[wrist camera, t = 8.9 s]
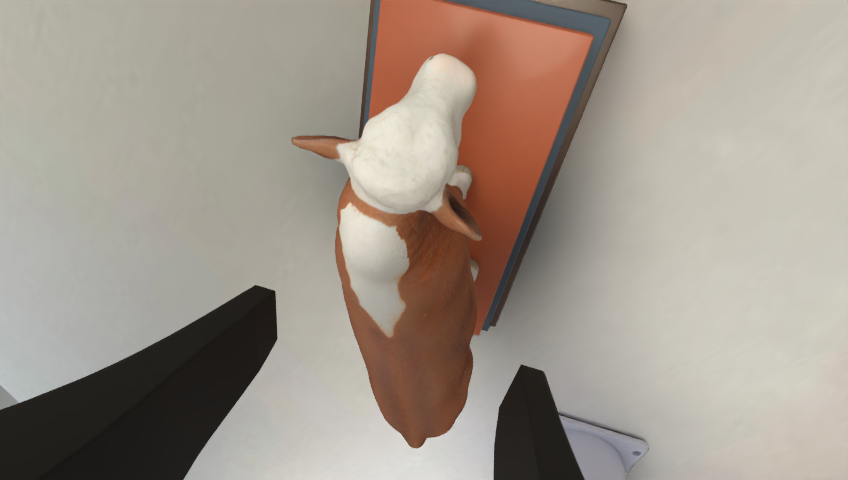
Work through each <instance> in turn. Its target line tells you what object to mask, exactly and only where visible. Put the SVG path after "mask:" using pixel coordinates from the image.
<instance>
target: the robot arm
mask: <svg viewBox="0 0 848 480" xmlns="http://www.w3.org/2000/svg"><path fill="white" fill-rule="evenodd" d="M276 340H277V318H276V296H275V291H274V290H270V289H267V288H264V287H260V286H257V285H255V286H253V287H252V288H250V289H248V290H246V291H245V292H243V293H241V294H240V295H238V296H236V297H235V298H233V299H231V300H230V301H228V302H226V303H225V304H223V305H221V306H220V307H218V308H216V309H215V310H213V311H211V312H210V313H208V314H206V315H205V316H203V317H201V318H199V319H198V320H196V321H194V322H192V323H191V324H189V325H187V326H186V327H184V328H182V329H180V330H179V331H177V332H175V333H173V334H171V335H170V336H168V337H166V338H164V339H162V340H160V341H158V342H156V343H154V344H152V345H151V346H149V347H147V348H145V349H143V350H141V351H139V352H137V353H135V354H133V355H131V356H129V357H127V358H125V359H123V360H121V361H119V362H117V363H115V364H113V365H110V366H108V367H106V368H104V369H102V370H99V371H97V372H95V373H93V374H91V375H88V376H86V377H84V378H81V379H79V380H77V381H74V382H72V383H69V384H67V385H64V386H62V387H59V388H57V389H54V390H52V391H49V392H47V393H44V394H42V395H39V396H37V397H34V398H32V399H29V400H26V401H24V402H21V403H18V404H16V405H13V406H10V407H7V408H4V409H2V410H0V480H183V479H184V478H185V476H186V474H187V473H188V471H189V469H190V468H191V466H192V464H193V463H194V461H195V460H196V458H197V456H198V455H199V453H200V452H201V450H202V449H203V448H204V446H205V445H206V443H207V442H208V440H209V439H210V437H211V436H212V435H213V433H214V432H215V431H216V429H217V428H218V427H219V425H220V424H221V423H222V421H223V420H224V418H225V417H226V416H227V414H228V413H229V412H230V410H231V409H232V408H233V406H234V405H235V404H236V402H237V401H238V400H239V398H240V397H241V395H242V394H243V393H244V391H245V390H246V389H247V387H248V386H249V384H250V383H251V382H252V380H253V379H254V378H255V376H256V375H257V373H258V372H259V370H260V369H261V367H262V365H263V364H264V362H265V360H266V359H267V357H268V355H269V353H270V351H271V350H272V348H273V346H274V344H275V342H276ZM647 451H648V446H647V443H646V442H644V441H642V440H639V439H636V438H632V437H629V436H626V435H623V434H619V433H616V432H613V431H610V430H606V429H603V428H600V427H596V426H593V425H590V424H587V423H583V422H580V421H577V420H573V419H570V418H567V417H564V416H560V415H559V414H558V411H557V408H556V405H555V403H554V400H553V397H552V394H551V391H550V388H549V385H548V381H547V378H546V375H545V373H544V372H543V371H541V370H538V369H534V368H531V367H528V366H524V365H521V366H520V368H519V370H518V372H517V374H516V376H515V378H514V379H513V381H512V383H511V385H510V387H509V389H508V391H507V393H506V395H505V397H504V399H503V401H502V403H501V405H500V407H499V413H498V421H497V428H496V436H495V445H494V480H627V479H626V475H625V473H626V472H627V471H628V470H629V469H630V468H631V467H632V466H633V465H634V464H635V463H636V462H637V461H638V460H639V459H640V458H641V457H642V456H643V455H644V454H645V453H646V452H647Z"/></svg>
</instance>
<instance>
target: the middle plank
mask: <svg viewBox="0 0 848 480" xmlns="http://www.w3.org/2000/svg"><path fill="white" fill-rule="evenodd" d="M447 1H451V2H456V3H460V4H464V5H469V6H473V7H478V8H482V9H486V10H491V11H495V12H500V13H504V14H508V15H513V16H517V17H522V18H526V19H530V20H535V21H539V22H544V23H548V24H552V25H557V26H561V27H566V28H570V29H574V30H579V31H583V32H588V33H590V34H592V35H593V36H594V40H593V42H592V45H591V47H590V50H589V52H588V55H587V58H586V60H585V63H584V65H583V68H582V71H581V73H580V76H579V78H578V81H577V84H576V86H575V89H574V91H573V94H572V97H571V99H570V102H569V104H568V107H567V109H566V112H565V115H564V117H563V120H562V122H561V125H560V128H559V130H558V133H557V135H556V138H555V141H554V143H553V146H552V148H551V151H550V153H549V156H548V159H547V161H546V164H545V166H544V169H543V172H542V174H541V177H540V179H539V182H538V185H537V187H536V190H535V192H534V195H533V197H532V200H531V203H530V205H529V208H528V210H527V213H526V216H525V218H524V221H523V223H522V226H521V229H520V231H519V234H518V236H517V239H516V241H515V244H514V247H513V249H512V252H511V254H510V257H509V260H508V262H507V265H506V267H505V270H504V273H503V275H502V278H501V280H500V283H499V286H498V288H497V291H496V293H495V296H494V298H493V301H492V304H491V306H490V309H489V311H488V314H487V317H486V319H485V322H484V324H483V327H482V330H485V331H488V328H489V326H490V323H491V321H492V318H493V316H494V313H495V311H496V308H497V306H498V303H499V301H500V298H501V296H502V293H503V291H504V288H505V286H506V283H507V281H508V278H509V276H510V273H511V271H512V268H513V266H514V263H515V261H516V258H517V256H518V253H519V251H520V248H521V246H522V243H523V241H524V238H525V236H526V233H527V231H528V228H529V226H530V223H531V221H532V218H533V216H534V213H535V211H536V208H537V206H538V203H539V201H540V198H541V196H542V193H543V191H544V188H545V186H546V183H547V181H548V178H549V176H550V173H551V171H552V168H553V166H554V163H555V161H556V158H557V156H558V153H559V151H560V148H561V146H562V143H563V141H564V138H565V136H566V133H567V131H568V128H569V126H570V123H571V121H572V118H573V116H574V113H575V111H576V108H577V106H578V103H579V101H580V98H581V96H582V93H583V91H584V88H585V86H586V83H587V81H588V78H589V76H590V73H591V71H592V68H593V66H594V63H595V61H596V58H597V56H598V53H599V51H600V48H601V46H602V43H603V41H604V38H605V36H606V33H607V31H608V28H609V26H610V23H611V19H609V18H606V17H601V16H597V15H593V14H588V13H584V12H579V11H575V10H570V9H566V8H561V7H557V6H552V5H548V4H543V3H539V2H534V1H530V0H447ZM380 2H381V0H375V7H374V18H373V29H372V39H371V50H370V61H369V71H368V82H367V92H366V103H365V114H364V124H363V130H364V127H365V125H366V123H367V122H368V120H369V111H370V101H371V91H372V81H373V71H374V61H375V51H376V41H377V32H378V22H379V12H380Z"/></svg>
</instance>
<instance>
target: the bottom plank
mask: <svg viewBox="0 0 848 480" xmlns="http://www.w3.org/2000/svg"><path fill="white" fill-rule="evenodd" d="M530 1H534V2H539V3H543V4H548V5H552V6H557V7H561V8H566V9H570V10H575V11H579V12H584V13H588V14H593V15H597V16H601V17H606V18H609V19H611V23H610V26H609V28H608V31H607V33H606V36H605V38H604V41H603V43H602V46H601V48H600V51H599V53H598V56H597V58H596V61H595V63H594V66H593V68H592V71H591V73H590V76H589V78H588V81H587V83H586V86H585V88H584V91H583V93H582V96H581V98H580V101H579V103H578V106H577V108H576V111H575V113H574V116H573V118H572V121H571V123H570V126H569V128H568V131H567V133H566V136H565V138H564V141H563V143H562V146H561V148H560V151H559V153H558V156H557V158H556V161H555V163H554V166H553V168H552V171H551V173H550V176H549V178H548V181H547V183H546V186H545V188H544V191H543V193H542V196H541V198H540V201H539V203H538V206H537V208H536V211H535V213H534V216H533V218H532V221H531V223H530V226H529V228H528V231H527V233H526V236H525V238H524V241H523V243H522V246H521V248H520V251H519V253H518V256H517V258H516V261H515V263H514V266H513V268H512V271H511V273H510V276H509V278H508V281H507V283H506V286H505V288H504V291H503V293H502V296H501V298H500V301H499V303H498V306H497V308H496V311H495V313H494V316H493V318H492V321H491V323H490V326H493V327H495V326H496V323H497V321H498V319H499V316H500V314H501V311H502V309H503V306H504V304H505V302H506V299H507V297H508V294H509V292H510V289H511V287H512V285H513V282H514V280H515V277H516V275H517V272H518V270H519V268H520V265H521V263H522V260H523V258H524V255H525V253H526V251H527V248H528V246H529V243H530V241H531V238H532V236H533V234H534V231H535V229H536V226H537V224H538V222H539V219H540V217H541V214H542V212H543V209H544V207H545V205H546V202H547V200H548V197H549V195H550V192H551V190H552V188H553V185H554V183H555V180H556V178H557V175H558V173H559V171H560V168H561V166H562V163H563V161H564V158H565V156H566V154H567V151H568V149H569V146H570V144H571V141H572V139H573V137H574V134H575V132H576V129H577V127H578V124H579V122H580V120H581V117H582V115H583V112H584V110H585V107H586V105H587V103H588V100H589V98H590V95H591V93H592V90H593V88H594V86H595V83H596V81H597V78H598V76H599V73H600V71H601V69H602V66H603V64H604V61H605V59H606V56H607V54H608V52H609V49H610V47H611V44H612V42H613V39H614V37H615V35H616V32H617V30H618V27H619V25H620V23H621V20H622V18H623V15H624V13H625V10H626V8H627V4H625V3H620V2H615V1H611V0H530ZM374 7H375V0H371V5H370V16H369V27H368V38H367V50H366V61H365V72H364V84H363V95H362V106H361V118H360V129H359V139H360V138H361V137H362V134H363V124H364V114H365V103H366V92H367V82H368V71H369V61H370V50H371V39H372V29H373V18H374Z"/></svg>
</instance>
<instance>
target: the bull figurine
mask: <svg viewBox="0 0 848 480" xmlns="http://www.w3.org/2000/svg"><path fill="white" fill-rule="evenodd" d="M476 91H477V82H476V77H475V74H474V72H473V71H472V70H471V69H470V68H469V67H468V66H467V65H466V64H464V63H463V62H461V61H460V60H459V59H457V58H455V57H453V56H451V55H447V54H444V53H443V54H438V55H435V56H432V57H429V58H428V59H427V60H426V61H425V62H424V63H423V65H422V66H421V68H420V70H419V71H418V73H417V75H416V76H415V78H414V80H413V83H412V86H411V88H410V90H409V92H408V93H407V94H406V95H405V96H404V98H403V99H401V100H400V101H399V102H398V103H397V104H394V105H392V106H390V107H388V108H386V109H385V110H384V111H382V112H381V113H380V114H378V115H376V116H374V117H372V118H371V119H369V120H368V122H367V123H366V125H365V127H364V130H363V134H362V137H361V138H360V139H359V140H349V139H344V138H339V137H335V136H297V137H293V138H292V139H291V141H292V143H293V144H294V145H296V146H298V147H299V148H302V149H306V150H309V151H312V152H314V153H316V154H318V155H320V156H322V157H324V158H329V159H334V160H337V161H340V162H341V163H342V164H344V165H345V167H346V169H347V171H348V173H349V176H350V177H349V178H348V181H347V183H346V185H345V187H344V189H343V192H342V194H341V196H340V199H339V204H338V211H337V217H338V227H337V232H336V240H335V253H336V263H337V267H338V272H339V275H340V278H341V281H342V288H343V294H344V299H345V303H346V306H347V310H348V314H349V318H350V322H351V325H352V328H353V331H354V334H355V337H356V340H357V342H358V345H359V348H360V351H361V353H362V356H363V359H364V361H365V364H366V367H367V370H368V375H369V380H370V384H371V388H372V391H373V394H374V396H375V399H376V401H377V403H378V406H379V408H380V410H381V413H382V414H383V416H384V418H385V420H386V421H387V422H388V423H389V424H390V425H391V426H392V427H393V428H394V429H395V430H397V431H398V432H400V433H401V434H402V436H403V437H404V438H405V440H406V441H407V443H408V444H409V446H411V447H412V448H419V447H421V446H422V445H423V444H424V442H425V440H426V438H430V437H437V436H440V435H442V434H444V433H446V432H447V431H449V430H450V429H451V427H452V426H453V424H454V422H455V420H456V419H457V417H458V416H459V414H460V413H461V411H462V410H463V408H464V406H465V403H466V400H467V394H468V386H469V382H470V378H471V374H472V369H473V356H472V352H471V349H470V347H469V344H470V341H471V339H472V336H473V333H474V330H475V326H476V321H477V312H478V302H477V293H476V288H475V283H474V282H475V279H476V277H477V274H478V271H479V265H478V263H477V262H476V261H475V260H474V259H471V258H470V254H469V238H471V239H473V240H475V241H480V240H481V239H482V232H481V230H480V228H479V226H478V224H477V222H476V221H475V219H474V217H473V216H472V215H471V214H470V213H469V211H468V210H467V209H466V204H465V202H464V199H466V193H467V190H468V189H469V187H470V185H471V182H472V179H473V174H472V171H471V170H470V169H469V168H468V167H466V166H464V165H457V161H458V155H459V152H458V148H459V145H460V142H461V126H462V119H463V116H464V114H465V113H466V111H467V110H468V109H469V107H470V105H471V103H472V101H473V98H474V96H475V93H476Z"/></svg>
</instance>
